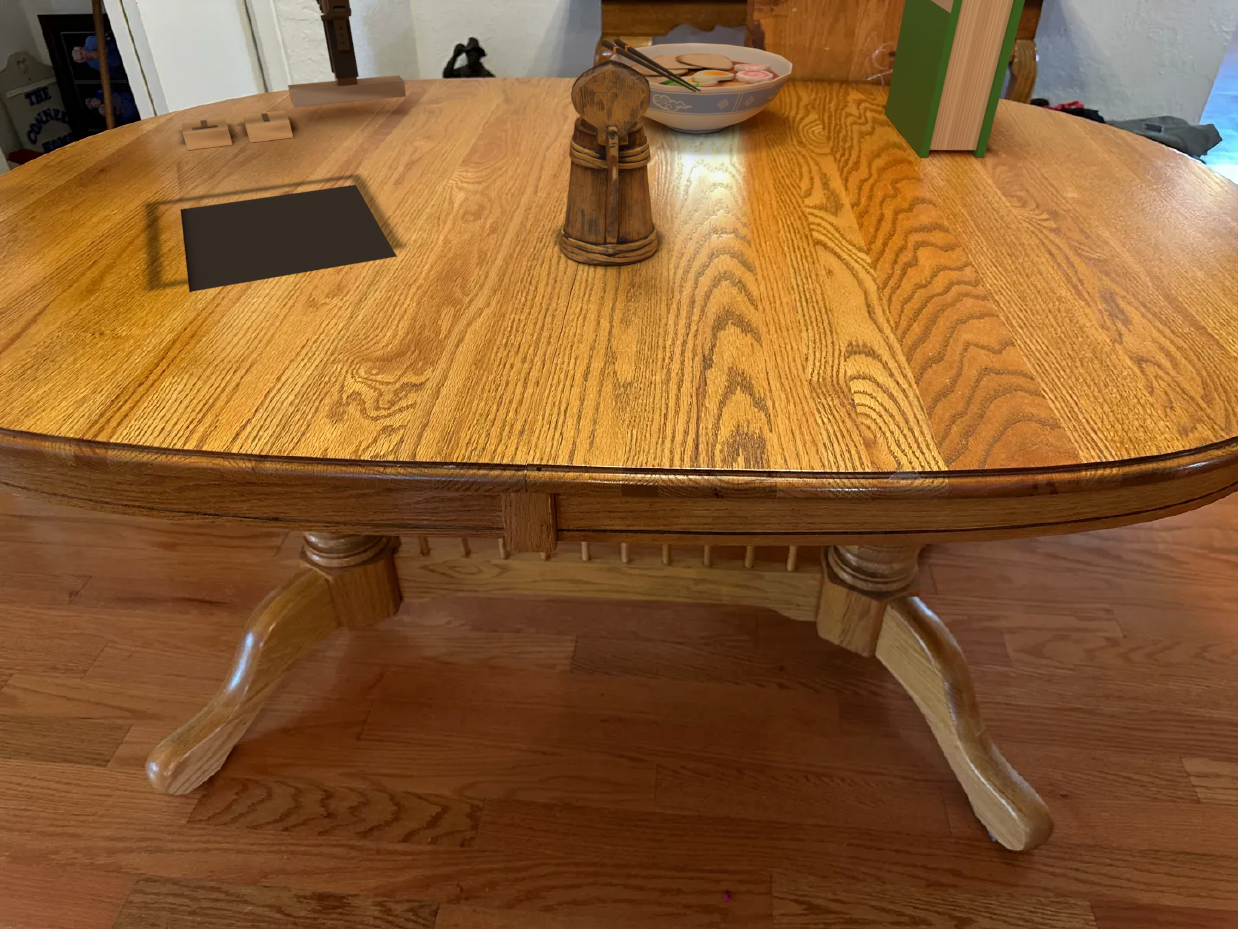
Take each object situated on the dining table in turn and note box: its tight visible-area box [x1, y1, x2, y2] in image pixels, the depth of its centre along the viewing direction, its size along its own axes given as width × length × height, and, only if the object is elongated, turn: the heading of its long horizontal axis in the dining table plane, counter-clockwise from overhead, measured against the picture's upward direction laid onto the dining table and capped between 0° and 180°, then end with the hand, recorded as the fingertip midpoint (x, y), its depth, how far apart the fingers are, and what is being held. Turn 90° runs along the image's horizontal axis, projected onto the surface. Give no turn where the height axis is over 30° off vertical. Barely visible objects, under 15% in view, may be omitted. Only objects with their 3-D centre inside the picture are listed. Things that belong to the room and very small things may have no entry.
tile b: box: [242, 109, 294, 144], centre depth 105 cm, size 5×5×2 cm
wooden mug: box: [559, 58, 658, 267], centre depth 72 cm, size 9×14×18 cm, turn 2°
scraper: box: [287, 0, 407, 108], centre depth 106 cm, size 3×14×12 cm, turn 114°
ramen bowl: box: [600, 38, 794, 135], centre depth 106 cm, size 25×23×8 cm
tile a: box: [180, 116, 233, 151], centre depth 103 cm, size 5×5×2 cm
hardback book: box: [884, 0, 1026, 159], centre depth 98 cm, size 18×7×24 cm, turn 179°
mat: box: [180, 184, 398, 293], centre depth 81 cm, size 20×20×1 cm
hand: (345, 73), depth 108 cm, fingers closed on scraper, 2 cm apart
